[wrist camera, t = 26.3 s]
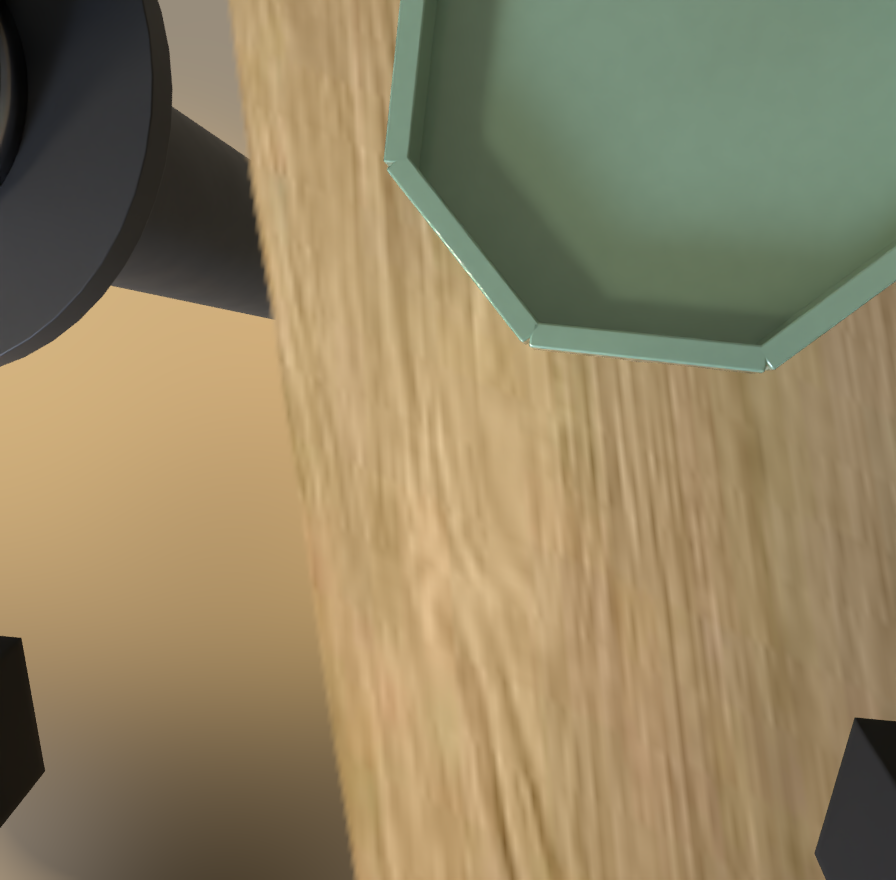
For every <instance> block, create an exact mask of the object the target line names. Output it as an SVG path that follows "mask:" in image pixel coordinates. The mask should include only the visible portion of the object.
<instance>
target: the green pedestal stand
mask: <svg viewBox="0 0 896 880" xmlns="http://www.w3.org/2000/svg"><path fill="white" fill-rule="evenodd" d="M384 162H385V163H386V164H387V165H388V166H389V167H388V169H387V171H388V173H389V174H390V175H391V177H392V178H393V179H394V180H395V182H396V183H397V184H398V185H399V187H400V188H401V189H402V191H403V192H404V193H405V194H406V196H407V197H408V198H409V200H410V201H411V202H412V203H413V205H414V206H415V207H416V208H417V210H418V211H419V212H420V214H421V215H422V216H423V217H424V219H425V220H426V221H427V222H428V224H429V225H430V226H431V228H432V229H433V230H434V231H435V233H436V234H437V235H438V237H439V238H440V239H441V240H442V242H443V243H444V244H445V245H446V247H447V248H448V249H449V251H450V252H451V253H452V254H453V256H454V257H455V258H456V259H457V261H458V262H459V263H460V265H461V266H462V267H463V268H464V270H465V271H466V272H467V273H468V275H469V276H470V277H471V279H472V280H473V281H474V282H475V284H476V285H477V286H478V288H479V289H480V290H481V291H482V293H483V294H484V295H485V296H486V298H487V299H488V300H489V302H490V303H491V304H492V305H493V307H494V308H495V309H496V310H497V312H498V313H499V314H500V316H501V317H502V318H503V319H504V321H505V322H506V323H507V325H508V326H509V327H510V328H511V330H512V331H513V332H514V333H515V335H516V336H517V337H518V339H519V340H520V341H521V342H522V343H524V344H529V346H530V347H531V348H533V349H534V350H542V351H551V352H561V353H570V354H579V355H588V356H597V357H606V358H615V359H622V360H628V361H634V362H645V363H661V364H670V365H679V366H688V367H697V368H706V369H715V370H725V371H734V372H743V373H762V372H765V370H774V369H776V368H778V367H779V366H780V365H782V364H783V363H785V362H786V361H787V360H789V359H790V358H791V357H793V356H794V355H795V354H797V353H798V352H800V351H801V350H802V349H804V348H805V347H806V346H808V345H809V344H810V343H812V342H813V341H815V340H816V339H817V338H819V337H820V336H821V335H823V334H824V333H826V332H827V331H828V330H830V329H831V328H832V327H834V326H835V325H836V324H838V323H839V322H841V321H842V320H843V319H845V318H846V317H847V316H849V315H850V314H852V313H853V312H854V311H856V310H857V309H858V308H860V307H861V306H862V305H864V304H865V303H867V302H868V301H869V300H871V299H872V298H873V297H875V296H876V295H878V294H879V293H880V292H882V291H883V290H884V289H886V288H887V287H888V286H890V285H891V284H893V283H894V282H895V281H896V0H400V8H399V18H398V27H397V37H396V47H395V56H394V66H393V76H392V85H391V95H390V105H389V114H388V124H387V133H386V143H385V153H384Z"/></svg>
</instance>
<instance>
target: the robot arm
mask: <svg viewBox="0 0 896 880" xmlns="http://www.w3.org/2000/svg"><path fill="white" fill-rule="evenodd" d="M27 95H28V85H27V70H26V62H25V56H24V51H23V47H22V42H21V39H20V36H19V33H18V30H17V26H16V24H15V22H14V19H13V17H12V14H11V12H10V10H9V8H8V6H7V5H6V3H5V1H4V0H0V186H1V185H2V183H3V181H4V180H5V178H6V176H7V174H8V172H9V170H10V168H11V166H12V164H13V161H14V159H15V156H16V154H17V151H18V148H19V145H20V141H21V138H22V134H23V129H24V124H25V119H26V110H27ZM44 772H45V768H44V763H43V757H42V752H41V746H40V741H39V735H38V729H37V723H36V718H35V712H34V707H33V701H32V695H31V690H30V684H29V679H28V673H27V667H26V662H25V656H24V650H23V645H22V639H21V638H16V637H6V636H0V827H1V826H2V825H3V824H4V823H5V821H6V820H7V819H8V817H9V816H10V815H11V813H12V812H13V811H14V810H15V809H16V807H17V806H18V805H19V803H20V802H21V801H22V800H23V798H24V797H25V796H26V795H27V793H28V792H29V791H30V790H31V788H32V787H33V786H34V784H35V783H36V782H37V781H38V779H39V778H40V777H41V776H42V774H43V773H44ZM815 856H816V858H817V860H818V862H819V865H820V867H821V869H822V872H823V874H824V876H825V878H826V880H896V721H885V720H875V719H864V718H854V722H853V725H852V729H851V732H850V735H849V739H848V742H847V745H846V749H845V752H844V756H843V759H842V762H841V766H840V769H839V773H838V776H837V779H836V783H835V786H834V789H833V793H832V796H831V800H830V803H829V806H828V810H827V813H826V817H825V820H824V823H823V827H822V830H821V833H820V837H819V840H818V844H817V847H816V850H815Z"/></svg>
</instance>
